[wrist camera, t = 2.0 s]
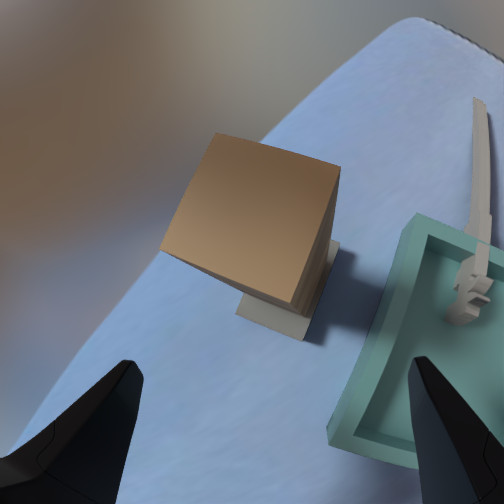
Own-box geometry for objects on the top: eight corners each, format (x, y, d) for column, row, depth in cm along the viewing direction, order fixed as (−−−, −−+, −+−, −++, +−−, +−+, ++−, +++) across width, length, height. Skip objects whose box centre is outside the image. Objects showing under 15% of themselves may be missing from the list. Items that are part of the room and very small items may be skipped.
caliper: (444, 325, 19) (484, 327, 13) (431, 320, 19) (469, 321, 13) (480, 103, 21) (504, 62, 15) (471, 99, 21) (493, 56, 15)
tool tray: (485, 466, 14) (505, 482, 11) (326, 426, 18) (328, 445, 15) (545, 294, 16) (571, 287, 13) (402, 230, 20) (417, 212, 17)
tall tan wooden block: (302, 340, 20) (282, 366, 7) (240, 314, 21) (126, 292, 8) (338, 248, 21) (368, 129, 8) (277, 226, 22) (224, 94, 9)
